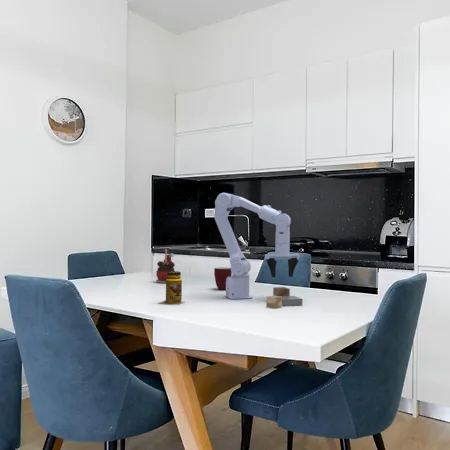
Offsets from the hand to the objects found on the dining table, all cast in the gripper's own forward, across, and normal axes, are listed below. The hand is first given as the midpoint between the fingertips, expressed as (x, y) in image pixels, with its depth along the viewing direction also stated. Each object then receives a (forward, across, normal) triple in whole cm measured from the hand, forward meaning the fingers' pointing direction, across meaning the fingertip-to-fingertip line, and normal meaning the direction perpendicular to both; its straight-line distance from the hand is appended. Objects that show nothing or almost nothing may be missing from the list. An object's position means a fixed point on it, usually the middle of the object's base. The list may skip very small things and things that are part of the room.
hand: (282, 276), depth 189 cm
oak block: (+10, -10, -14) cm, 20 cm away
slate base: (+9, -2, -9) cm, 13 cm away
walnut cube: (+10, 0, 0) cm, 10 cm away
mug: (+10, -14, +35) cm, 39 cm away
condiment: (+10, -44, +5) cm, 46 cm away
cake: (+10, -35, +66) cm, 75 cm away
